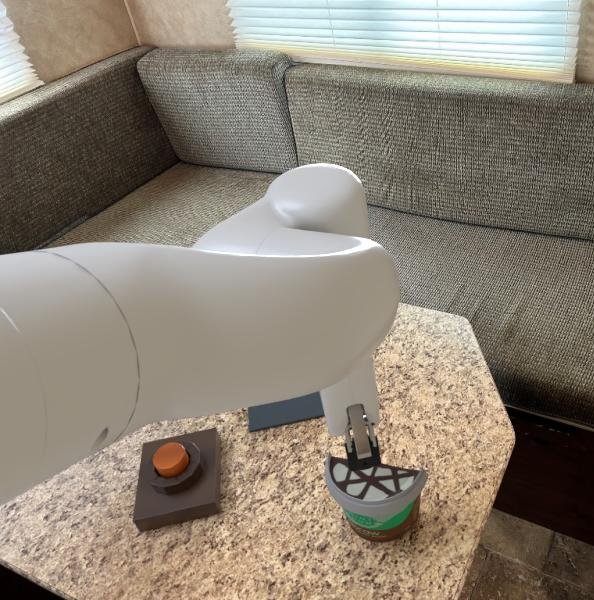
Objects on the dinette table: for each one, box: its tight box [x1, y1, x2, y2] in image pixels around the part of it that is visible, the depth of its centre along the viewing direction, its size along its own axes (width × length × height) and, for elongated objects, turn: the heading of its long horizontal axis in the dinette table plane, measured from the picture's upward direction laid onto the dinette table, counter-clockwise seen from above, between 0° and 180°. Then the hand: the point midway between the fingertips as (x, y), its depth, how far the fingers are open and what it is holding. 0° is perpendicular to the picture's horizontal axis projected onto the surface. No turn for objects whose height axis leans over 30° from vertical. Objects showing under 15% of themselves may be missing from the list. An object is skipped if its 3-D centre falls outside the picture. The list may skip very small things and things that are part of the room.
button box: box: [132, 427, 222, 533], centre depth 80 cm, size 12×10×4 cm
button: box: [153, 443, 189, 478], centre depth 78 cm, size 4×4×2 cm
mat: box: [247, 391, 325, 433], centre depth 95 cm, size 20×16×1 cm
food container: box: [324, 450, 429, 544], centre depth 71 cm, size 12×6×10 cm, turn 76°
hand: (360, 439), depth 63 cm, fingers open, 5 cm apart
